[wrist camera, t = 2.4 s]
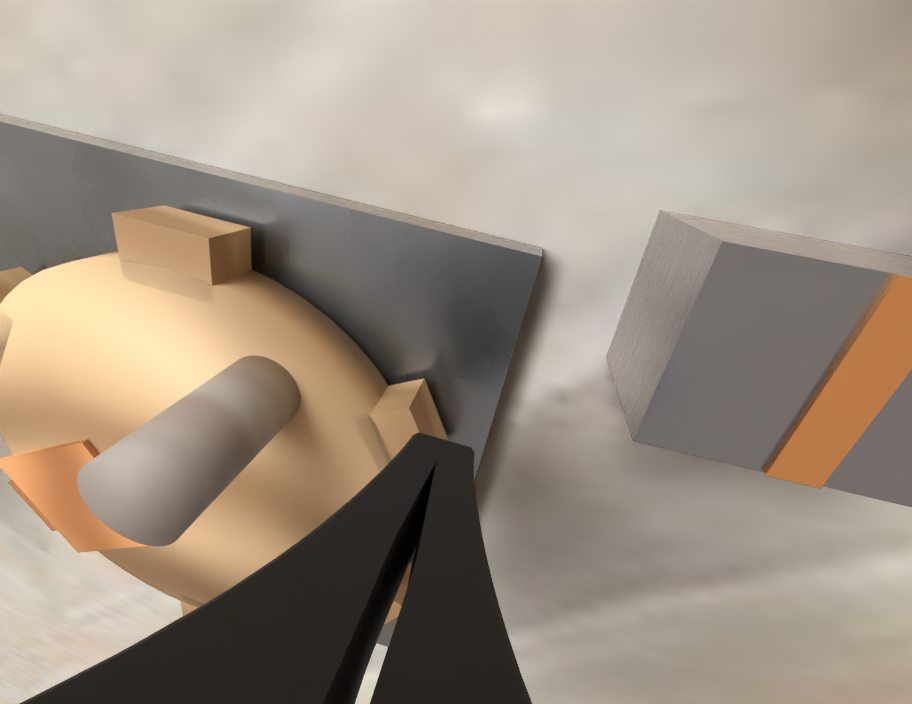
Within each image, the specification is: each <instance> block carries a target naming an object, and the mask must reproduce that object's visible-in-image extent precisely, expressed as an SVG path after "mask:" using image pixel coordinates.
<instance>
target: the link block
mask: <svg viewBox="0 0 912 704" xmlns="http://www.w3.org/2000/svg"><path fill="white" fill-rule="evenodd" d="M606 357H607V360H608V363H609V366H610V369H611V373H612V376H613V379H614V382H615V385H616V389H617V392H618V395H619V398H620V401H621V405H622V408H623V411H624V414H625V417H626V421H627V424H628V427H629V430H630V434H631V437H632V440H633V441H635V442H639V443H644V444H648V445H652V446H656V447H660V448H665V449H669V450H673V451H677V452H681V453H686V454H690V455H694V456H698V457H702V458H707V459H711V460H715V461H719V462H723V463H728V464H732V465H736V466H740V467H744V468H749V469H753V470H757V471H761V472H763V473H764V474H765V475H766V476H770V477H774V478H778V479H782V480H786V481H791V482H795V483H799V484H803V485H807V486H812V487H816V488H820V489H821V487H822V486H824V487H828V488H833V489H837V490H841V491H845V492H850V493H854V494H858V495H862V496H866V497H871V498H875V499H879V500H883V501H887V502H892V503H896V504H900V505H904V506H908V507H912V256H907V255H901V254H896V253H891V252H885V251H880V250H874V249H869V248H863V247H858V246H852V245H847V244H842V243H836V242H831V241H825V240H820V239H814V238H809V237H803V236H798V235H793V234H787V233H782V232H776V231H771V230H765V229H760V228H754V227H749V226H744V225H738V224H733V223H727V222H722V221H716V220H711V219H706V218H700V217H695V216H689V215H684V214H678V213H673V212H667V211H662V210H660V211H659V214H658V217H657V220H656V222H655V225H654V228H653V230H652V233H651V236H650V239H649V241H648V244H647V247H646V250H645V252H644V255H643V258H642V261H641V263H640V266H639V269H638V272H637V274H636V277H635V280H634V282H633V285H632V288H631V291H630V293H629V296H628V299H627V302H626V304H625V307H624V310H623V313H622V315H621V318H620V321H619V323H618V326H617V329H616V332H615V334H614V337H613V340H612V343H611V345H610V348H609V351H608V354H607V356H606Z"/></svg>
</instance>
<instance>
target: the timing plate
mask: <svg viewBox="0 0 912 704" xmlns="http://www.w3.org/2000/svg"><path fill="white" fill-rule="evenodd" d="M157 206H169V207H172V208H176V209H180V210H184V211H188V212H192V213H196V214H200V215H204V216H207V217H211V218H215V219H219V220H223V221H227V222H231V223H235V224H239V225H242V226H246V227H250V228H251V263H252V270H254V271H256V272H258V273H260V274H262V275H264V276H266V277H269V278H271V279H273V280H275V281H276V282H278V283H279V284H281V285H283V286H284V287H286V288H288V289H289V290H291V291H293V292H294V293H296V294H297V295H299V296H301V297H302V298H304V299H305V300H306V301H308V302H309V303H310V304H312V305H313V306H314V307H316V308H317V309H318V310H319V311H321V312H322V313H323V314H325V315H326V316H327V317H329V318H330V319H331V320H332V321H333V322H334V323H335V324H336V325H337V326H338V327H339V328H341V329H342V330H343V331H344V332H345V333H346V334H347V335H348V336H349V337H350V338H351V339H352V340H353V341H354V342H355V343H356V344H357V345H358V346H359V347H360V349H361V350H362V351H363V352H364V353H365V355H366V356H367V357H368V358H369V359H370V361H371V362H372V363H373V364H374V365H375V366H376V368H377V369H378V371H379V372H380V374H381V375H382V377H383V378H384V380H385V381H386V383H387V384H388V386H390V385H395V384H399V383H404V382H409V381H414V380H419V379H425V381H426V384H427V386H428V389H429V392H430V394H431V397H432V399H433V402H434V404H435V407H436V409H437V412H438V415H439V417H440V420H441V422H442V425H443V427H444V430H445V432H446V435H447V437H448V440H449V441H451V442H454V443H458V444H461V445H465V446H468V447H471V448H472V450H473V451H474V453H475V454H474V480H475V477H476V474H477V470H478V467H479V464H480V461H481V457H482V454H483V451H484V447H485V444H486V441H487V438H488V434H489V431H490V428H491V424H492V421H493V418H494V414H495V411H496V408H497V405H498V401H499V398H500V395H501V391H502V388H503V385H504V382H505V378H506V375H507V372H508V368H509V365H510V362H511V358H512V355H513V352H514V349H515V345H516V342H517V339H518V335H519V332H520V329H521V326H522V322H523V319H524V316H525V312H526V309H527V306H528V302H529V299H530V296H531V293H532V289H533V286H534V283H535V279H536V276H537V273H538V270H539V266H540V263H541V260H542V248H540V247H536V246H532V245H528V244H524V243H520V242H516V241H512V240H508V239H504V238H500V237H496V236H492V235H488V234H484V233H480V232H476V231H472V230H468V229H464V228H459V227H455V226H451V225H447V224H443V223H439V222H435V221H431V220H427V219H423V218H419V217H415V216H411V215H407V214H403V213H399V212H395V211H391V210H387V209H383V208H379V207H375V206H371V205H367V204H362V203H358V202H354V201H350V200H346V199H342V198H338V197H334V196H330V195H326V194H322V193H318V192H314V191H310V190H306V189H302V188H298V187H294V186H290V185H286V184H282V183H278V182H274V181H270V180H265V179H261V178H257V177H253V176H249V175H245V174H241V173H237V172H233V171H229V170H225V169H221V168H217V167H213V166H209V165H205V164H201V163H197V162H193V161H189V160H185V159H181V158H177V157H173V156H168V155H164V154H160V153H156V152H152V151H148V150H144V149H140V148H136V147H132V146H128V145H124V144H120V143H116V142H112V141H108V140H104V139H100V138H96V137H92V136H88V135H84V134H80V133H76V132H72V131H67V130H63V129H59V128H55V127H51V126H47V125H43V124H39V123H35V122H31V121H27V120H23V119H19V118H15V117H11V116H7V115H3V114H0V271H4V270H9V269H13V268H18V267H22V268H24V269H25V270H26V271H28V272H29V273H30V274H32V275H35V274H36V273H38V272H40V271H42V270H44V269H48V268H51V267H54V266H58V265H61V264H64V263H68V262H72V261H76V260H80V259H85V258H89V257H93V256H98V255H102V254H106V253H111V252H115V251H118V247H117V242H116V236H115V231H114V225H113V219H112V214H111V213H115V212H122V211H129V210H136V209H143V208H150V207H157ZM415 549H416V548H415ZM414 553H415V550H414ZM414 553H413V555H412V557H411V560H410V562H409V563H410V564H412V563H413V558H414ZM397 619H398V617H397V618H395V619H393V620H391V621H390V622H388V623H386V624H385V625H383V628H382V630H381V633H380V635H379V637H378V640H377V642H376V643H378V644H381V645H384V646H387V647H389V643H390V640H391V637H392V634H393V631H394V628H395V625H396V622H397Z"/></svg>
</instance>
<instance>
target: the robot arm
mask: <svg viewBox="0 0 912 704" xmlns="http://www.w3.org/2000/svg"><path fill="white" fill-rule="evenodd" d="M474 454H475V453H474V451H473V450H472V448H471V447H468V446H465V445H461V444H458V443H454V442H451V441H447V440H444V439H440V438H437V437H433V436H430V435H426V434H423V433H420V432H418V433H416V434H414V435H413V436H412V437H411V438H410V440H409V441H408V442H407V443H406V445H405V446H404V447H403V448H402V449H401V450H400V452H399V453H398V454H397V455H396V456H395V457H394V458H393V459H392V460H391V461H390V462H389V463H388V464H387V465H386V467H385V468H384V469H383V470H382V471H381V472H380V473H378V474H377V475H376V476H375V477H374V478H373V479H372V480H371V481H370V482H369V483H368V484H367V485H366V486H365V487H364V488H363V489H362V490H361V491H360V492H358V493H357V494H356V495H355V496H354V497H353V498H352V499H350V500H349V501H348V502H347V503H346V504H345V505H343V506H342V507H341V508H340V509H339V510H337V511H336V512H335V513H334V514H333V515H332V516H330V517H329V518H328V519H327V520H326V521H324V522H323V523H322V524H321V525H319V526H318V527H317V528H316V529H314V530H313V531H312V532H310V533H309V534H308V535H307V536H305V537H304V538H303V539H301V540H300V541H299V542H297V543H296V544H294V545H293V546H292V547H290V548H289V549H288V550H286V551H285V552H283V553H282V554H281V555H279V556H278V557H276V558H275V559H274V560H272V561H271V562H269V563H268V564H266V565H265V566H263V567H262V568H260V569H259V570H257V571H256V572H254V573H253V574H251V575H250V576H248V577H247V578H245V579H244V580H242V581H241V582H239V583H238V584H236V585H234V586H233V587H231V588H230V589H228V590H227V591H225V592H223V593H222V594H220V595H219V596H217V597H215V598H214V599H212V600H210V601H209V602H207V603H205V604H204V605H202V606H200V607H199V608H197V609H195V610H193V611H192V612H190V613H188V614H186V615H185V616H183V617H181V618H179V619H178V620H176V621H174V622H173V623H171V624H169V625H167V626H166V627H164V628H162V629H160V630H159V631H157V632H155V633H153V634H152V635H150V636H148V637H147V638H145V639H143V640H141V641H140V642H138V643H136V644H134V645H132V646H130V647H129V648H127V649H125V650H123V651H121V652H119V653H118V654H116V655H114V656H112V657H110V658H108V659H106V660H104V661H102V662H100V663H98V664H96V665H94V666H92V667H90V668H88V669H87V670H85V671H83V672H81V673H79V674H77V675H75V676H73V677H71V678H69V679H67V680H65V681H63V682H61V683H59V684H57V685H55V686H53V687H51V688H49V689H47V690H45V691H44V692H42V693H40V694H38V695H36V696H34V697H32V698H30V699H28V700H26V701H24V702H22V703H20V704H355V701H356V698H357V695H358V692H359V689H360V686H361V683H362V680H363V677H364V674H365V671H366V668H367V666H368V663H369V660H370V658H371V655H372V652H373V650H374V647H375V645H376V642H377V640H378V637H379V635H380V633H381V630H382V628H383V625H384V623H385V621H386V618H387V616H388V613H389V611H390V608H391V606H392V604H393V601H394V599H395V596H396V594H397V591H398V589H399V587H400V584H401V582H402V579H403V577H404V574H405V572H406V570H407V567H408V565H409V562H410V560H411V557H412V555H413V553H414V550H415V553H414V558H413V563H412V567H411V572H410V576H409V581H408V586H407V590H406V594H405V597H404V600H403V603H402V606H401V609H400V612H399V616H398V619H397V622H396V625H395V628H394V631H393V634H392V637H391V640H390V643H389V647H388V650H387V653H386V656H385V659H384V662H383V665H382V668H381V671H380V674H379V677H378V681H377V684H376V687H375V690H374V693H373V696H372V699H371V702H370V704H532V702H531V699H530V697H529V694H528V692H527V689H526V686H525V684H524V681H523V679H522V676H521V673H520V670H519V667H518V664H517V661H516V658H515V655H514V652H513V649H512V646H511V643H510V640H509V637H508V634H507V631H506V628H505V624H504V621H503V618H502V614H501V611H500V608H499V604H498V601H497V597H496V593H495V590H494V586H493V582H492V578H491V574H490V570H489V565H488V561H487V557H486V553H485V548H484V543H483V538H482V533H481V527H480V521H479V515H478V509H477V502H476V493H475V483H474ZM415 548H416V549H415Z"/></svg>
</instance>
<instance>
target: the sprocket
mask: <svg viewBox="0 0 912 704" xmlns="http://www.w3.org/2000/svg"><path fill="white" fill-rule="evenodd" d="M111 214H112V219H113V225H114V231H115V236H116V242H117V247H118V251H115V252H111V253H106V254H102V255H98V256H93V257H89V258H85V259H80V260H76V261H72V262H68V263H64V264H61V265H58V266H54V267H51V268H48V269H44V270H42V271H40V272H38V273H36V274H35V275H32V274H30V273H29V272H28V271H26V270H25V269H24V268H22V267H18V268H13V269H9V270H4V271H0V432H1V434H2V437H3V439H4V441H5V443H6V445H7V447H8V448H9V450H10V452H11V454H12V456H7V457H3V458H1V459H0V467H1V468H2V469H3V470H4V471H5V473H6V474H7V475H8V476H9V477H10V478H11V479H12V480H11V481H10V482H8V483H9V484H10V485H11V486H12V487H13V488H14V489H15V491H16V492H17V493H18V494H19V495H20V496H21V497H22V498H23V499H24V500H25V502H26V503H27V504H28V505H29V506H30V507H31V508H32V509H33V510H34V511H35V513H36V514H37V515H38V516H39V517H40V518H41V519H42V520H43V521H44V522H45V524H46V525H47V526H48V527H49V528H50V529H51V530H52V531H55V530H58V531H59V532H60V533H61V534H62V536H63V537H64V538H65V539H66V540H67V541H68V542H69V543H70V544H71V546H72V547H73V548H74V549H75V550H76V551H77V552H78V553H79V552H89V551H99V552H100V553H101V554H102V555H104V556H105V557H106V558H108V559H109V560H111V561H112V562H113V563H115V564H116V565H118V566H119V567H121V568H122V569H123V570H125V571H127V572H128V573H130V574H131V575H133V576H135V577H136V578H138V579H140V580H141V581H143V582H144V583H146V584H148V585H150V586H152V587H154V588H156V589H157V590H159V591H161V592H163V593H165V594H167V595H169V596H171V597H174V598H176V599H178V600H180V601H181V606H182V611H183V616H185V615H186V614H188V613H190V612H192V611H193V610H195V609H197V608H199V607H200V606H202V605H204V604H205V603H207V602H209V601H210V600H212V599H214V598H215V597H217V596H219V595H220V594H222V593H223V592H225V591H227V590H228V589H230V588H231V587H233V586H234V585H236V584H238V583H239V582H241V581H242V580H244V579H245V578H247V577H248V576H250V575H251V574H253V573H254V572H256V571H257V570H259V569H260V568H262V567H263V566H265V565H266V564H268V563H269V562H271V561H272V560H274V559H275V558H276V557H278V556H279V555H281V554H282V553H283V552H285V551H286V550H288V549H289V548H290V547H292V546H293V545H294V544H296V543H297V542H299V541H300V540H301V539H303V538H304V537H305V536H307V535H308V534H309V533H310V532H312V531H313V530H314V529H316V528H317V527H318V526H319V525H321V524H322V523H323V522H324V521H326V520H327V519H328V518H329V517H330V516H332V515H333V514H334V513H335V512H336V511H337V510H339V509H340V508H341V507H342V506H343V505H345V504H346V503H347V502H348V501H349V500H350V499H352V498H353V497H354V496H355V495H356V494H357V493H358V492H360V491H361V490H362V489H363V488H364V487H365V486H366V485H367V484H368V483H369V482H370V481H371V480H372V479H373V478H374V477H375V476H376V475H377V474H378V473H380V472H381V471H382V470H383V469H384V468H385V467H386V465H387V464H388V463H389V462H390V461H391V460H392V459H393V458H394V457H395V456H396V455H397V454H398V453H399V452H400V450H401V449H402V448H403V447H404V446H405V445H406V443H407V442H408V441H409V440H410V438H411V437H412V436H413V435H414V434H416V433H418V432H420V433H423V434H426V435H430V436H433V437H437V438H440V439H444V440H447V441H449V440H448V437H447V435H446V432H445V430H444V427H443V425H442V422H441V420H440V417H439V415H438V412H437V409H436V407H435V404H434V402H433V399H432V397H431V394H430V392H429V389H428V386H427V384H426V381H425V379H419V380H414V381H409V382H404V383H399V384H395V385H390V386H388V384H387V383H386V381H385V380H384V378H383V377H382V375H381V374H380V372H379V371H378V369H377V368H376V366H375V365H374V364H373V363H372V362H371V361H370V359H369V358H368V357H367V356H366V355H365V353H364V352H363V351H362V350H361V349H360V347H359V346H358V345H357V344H356V343H355V342H354V341H353V340H352V339H351V338H350V337H349V336H348V335H347V334H346V333H345V332H344V331H343V330H342V329H341V328H339V327H338V326H337V325H336V324H335V323H334V322H333V321H332V320H331V319H330V318H329V317H327V316H326V315H325V314H323V313H322V312H321V311H319V310H318V309H317V308H316V307H314V306H313V305H312V304H310V303H309V302H308V301H306V300H305V299H304V298H302V297H301V296H299V295H297V294H296V293H294V292H293V291H291V290H289V289H288V288H286V287H284V286H283V285H281V284H279V283H278V282H276V281H275V280H273V279H271V278H269V277H266V276H264V275H262V274H260V273H258V272H256V271H254V270H252V263H251V228H250V227H246V226H242V225H239V224H235V223H231V222H227V221H223V220H219V219H215V218H211V217H207V216H204V215H200V214H196V213H192V212H188V211H184V210H180V209H176V208H172V207H169V206H157V207H150V208H143V209H136V210H129V211H122V212H115V213H111ZM411 567H412V564H410V563H409V565H408V567H407V570H406V572H405V574H404V577H403V579H402V582H401V584H400V587H399V589H398V591H397V594H396V596H395V599H394V601H393V604H392V606H391V608H390V611H389V613H388V616H387V618H386V621H385V623H384V625H385V624H386V623H388V622H390V621H391V620H393V619H395V618H397V617H398V616H399V612H400V609H401V606H402V603H403V600H404V597H405V594H406V590H407V586H408V581H409V576H410V572H411Z"/></svg>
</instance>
